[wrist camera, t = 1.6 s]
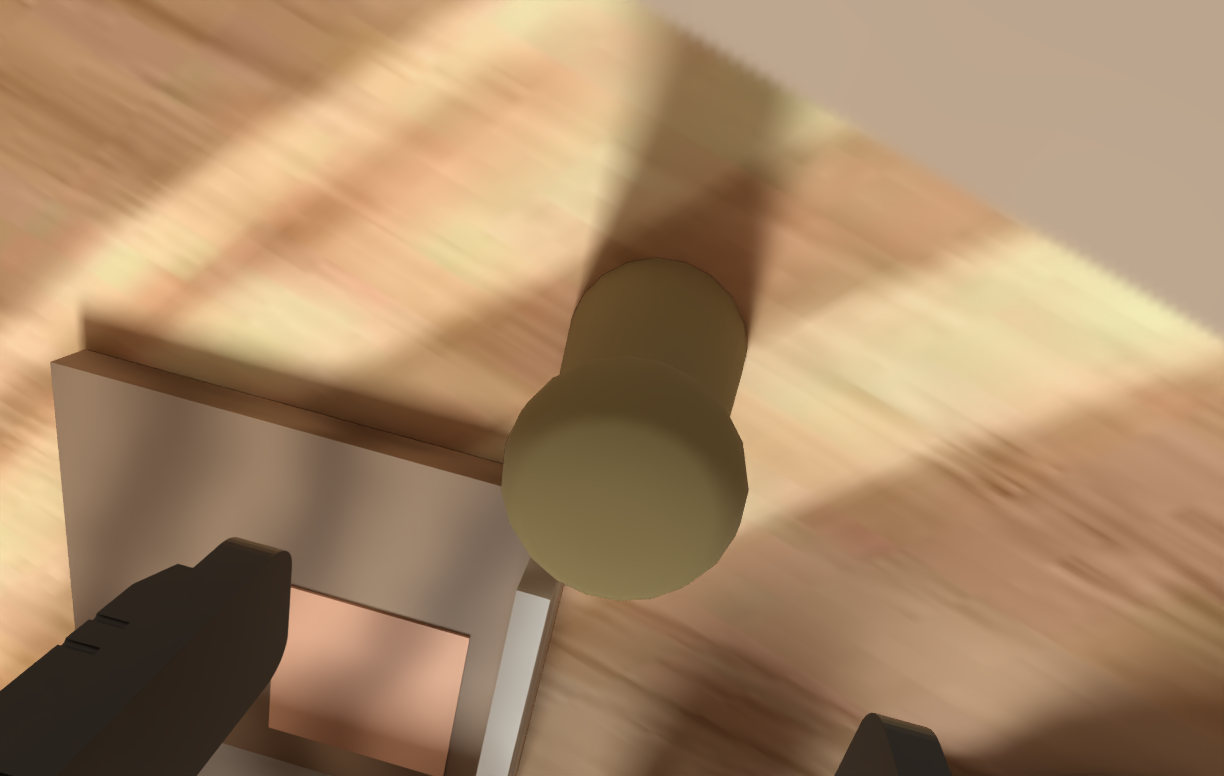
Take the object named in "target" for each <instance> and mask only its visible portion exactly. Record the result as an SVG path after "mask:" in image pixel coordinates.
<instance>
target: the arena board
mask: <svg viewBox="0 0 1224 776" xmlns="http://www.w3.org/2000/svg"><path fill="white" fill-rule="evenodd" d="M50 364H51V374H52V385H53V396H54V406H55V417H56V428H57V439H58V449H59V460H60V471H61V481H62V492H63V503H64V514H65V524H66V535H67V546H68V556H69V567H70V578H71V589H72V599H73V610H74V621H75V630H76V629H78V628H79V627H80V626H81V625H83V624H84V623H85V622H86V621H87V620H89V619H90V620H93V619H94V618H95V617H96V613H97V612H99V611H100V610H101V609H102V608H104V607H105V606H106V605H107V604H108V603H110V602H111V601H112V600H113V599H115V598H116V597H117V596H118V595H120V594H121V593H122V592H123V591H125V590H126V589H127V588H128V587H130V586H131V585H132V584H134V583H136V582H138V581H140V580H143V579H145V578H147V577H149V576H151V575H154V574H156V573H158V572H160V571H163V570H165V569H167V568H169V567H171V566H174V565H176V564H181V565H184V566H188V567H192V568H193V567H194V566H196V565H197V564H198V563H199V562H200V561H201V560H202V559H204V558H205V557H206V556H207V555H208V554H209V553H210V552H212V551H213V550H214V549H215V548H216V547H217V546H219V545H220V544H221V543H222V542H223V541H225V540H227V539H228V538H231V537H238V538H242V539H245V540H249V541H253V542H256V543H260V544H264V545H267V546H271V547H275V548H278V549H282V550H286V551H288V552H289V553H290V555H291V558H292V576H291V593H290V610H289V627H288V639H287V644H286V647H285V651H284V654H283V657H282V659H281V662H280V664H279V666H278V668H277V670H276V672H275V674H274V676H273V677H272V679H271V680H270V682H269V683H268V685H267V686H266V687H265V689H264V690H263V691H262V693H261V694H260V695H259V696H258V698H257V699H256V700H255V702H254V703H253V704H252V705H251V707H250V708H249V709H248V711H247V712H246V713H245V714H244V716H243V717H242V718H241V720H240V721H239V722H238V723H237V725H236V726H235V727H234V729H233V730H232V731H231V733H230V734H229V735H228V736H227V738H226V739H225V740H224V742H223V743H222V744H221V745H220V747H219V748H218V749H217V751H216V752H215V753H214V754H213V756H212V757H211V758H210V760H209V761H208V762H207V763H206V765H205V766H204V767H203V769H202V770H201V771H200V772H199V774H198V775H197V776H516V774H517V770H518V766H519V762H520V758H521V754H522V750H523V746H524V742H525V738H526V734H527V730H528V726H529V722H530V718H531V714H532V710H533V706H534V702H535V698H536V694H537V691H538V687H539V683H540V679H541V675H542V671H543V667H544V663H545V659H546V655H547V651H548V647H549V643H550V639H551V635H552V631H553V627H554V623H555V619H556V615H557V611H558V607H559V603H560V599H561V595H562V591H563V587H564V583H562V582H560V581H558V580H556V579H555V578H553V577H552V576H551V575H550V574H549V573H548V572H547V571H545V570H544V569H543V568H542V567H541V566H540V565H539V564H538V563H536V562H535V561H534V560H533V559H532V558H531V556H530V555H529V553H528V552H527V550H526V548H525V547H524V545H523V544H522V542H521V541H520V539H519V537H518V536H517V534H516V533H515V531H514V529H513V528H512V526H511V525H510V523H509V520H508V516H507V512H506V508H505V504H504V500H503V496H502V493H501V485H502V474H503V464H501V463H497V462H494V461H490V460H486V459H483V458H479V457H476V456H472V455H468V454H465V453H461V452H457V451H454V450H450V449H446V448H443V447H439V446H435V445H432V444H428V443H424V442H421V441H417V440H414V439H410V438H406V437H403V436H399V435H395V434H392V433H388V432H384V431H381V430H377V429H373V428H370V427H366V426H363V425H359V424H355V423H352V422H348V421H344V420H341V419H337V418H333V417H330V416H326V415H322V414H319V413H315V412H311V411H308V410H304V409H301V408H297V407H293V406H290V405H286V404H282V403H279V402H275V401H271V400H268V399H264V398H260V397H257V396H253V395H250V394H246V393H242V392H239V391H235V390H231V389H228V388H224V387H220V386H217V385H213V384H209V383H206V382H202V381H199V380H195V379H191V378H188V377H184V376H180V375H177V374H173V373H169V372H166V371H162V370H158V369H155V368H151V367H147V366H144V365H140V364H137V363H133V362H129V361H126V360H122V359H118V358H115V357H111V356H107V355H104V354H100V353H96V352H93V351H89V350H86V349H85V350H82V351H79V352H77V353H74V354H71V355H68V356H66V357H63V358H60V359H57V360H55V361H52V362H50Z"/></svg>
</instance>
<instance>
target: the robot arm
mask: <svg viewBox="0 0 1224 776" xmlns="http://www.w3.org/2000/svg"><path fill="white" fill-rule="evenodd" d="M291 576H292V558H291V555H290V553H289V552H288V551H286V550H282V549H278V548H275V547H271V546H267V545H264V544H260V543H256V542H253V541H249V540H245V539H242V538H238V537H231V538H228V539H227V540H225V541H223V542H222V543H221V544H220V545H219V546H217V547H216V548H215V549H214V550H213V551H212V552H210V553H209V554H208V555H207V556H206V557H205V558H204V559H202V560H201V561H200V562H199V563H198V564H197V565H196V566H194V567H193V568H192V567H188V566H184V565H181V564H176V565H174V566H171V567H169V568H167V569H165V570H163V571H160V572H158V573H156V574H154V575H151V576H149V577H147V578H145V579H143V580H140V581H138V582H136V583H134V584H132V585H131V586H130V587H128V588H127V589H126V590H125V591H123V592H122V593H121V594H120V595H118V596H117V597H116V598H115V599H113V600H112V601H111V602H110V603H108V604H107V605H106V606H105V607H104V608H102V609H101V610H100V611H99V612H97V613H96V617H95V618H94V619H93V620H90V619H89V620H87V621H86V622H85V623H84V624H83V625H81V626H80V627H79V628H78V629H76V630H75V631H74V632H73V633H71V634H70V635H69V636H68V637H66V639H65V642H64V643H63V644H62V645H61V646H60V645H57V646H55V647H54V648H53V649H52V650H50V651H49V652H48V653H47V654H45V655H44V656H43V657H42V658H40V659H39V660H38V661H37V662H35V663H34V664H33V665H32V666H31V667H29V668H28V669H27V670H26V671H24V672H23V673H22V674H21V675H19V676H18V677H17V678H16V679H14V680H13V681H12V682H11V683H10V684H8V685H7V686H6V687H5V688H3V689H2V690H1V691H0V776H197V775H198V774H199V772H200V771H201V770H202V769H203V767H204V766H205V765H206V763H207V762H208V761H209V760H210V758H211V757H212V756H213V754H214V753H215V752H216V751H217V749H218V748H219V747H220V745H221V744H222V743H223V742H224V740H225V739H226V738H227V736H228V735H229V734H230V733H231V731H232V730H233V729H234V727H235V726H236V725H237V723H238V722H239V721H240V720H241V718H242V717H243V716H244V714H245V713H246V712H247V711H248V709H249V708H250V707H251V705H252V704H253V703H254V702H255V700H256V699H257V698H258V696H259V695H260V694H261V693H262V691H263V690H264V689H265V687H266V686H267V685H268V683H269V682H270V680H271V679H272V677H273V676H274V674H275V672H276V670H277V668H278V666H279V664H280V662H281V659H282V657H283V654H284V651H285V647H286V644H287V639H288V627H289V610H290V593H291ZM835 776H952V775H951V772H950V769H949V767H948V764H947V762H946V759H945V756H944V754H943V751H942V749H941V746H940V743H939V741H938V739H937V737H936V735H935V734H934V732H933V731H932V730H931V729H929V728H927V727H923V726H920V725H916V724H912V723H909V722H905V721H901V720H898V719H894V718H890V717H887V716H883V715H879V714H876V713H870V714H868V715H866V716H865V718H864V719H863V720H862V722H861V724H860V726H859V728H858V730H857V732H856V734H855V736H854V738H853V740H852V742H851V744H850V746H849V748H848V750H847V752H846V754H845V756H844V758H843V760H842V762H841V764H840V766H839V768H838V770H837V772H836V774H835Z"/></svg>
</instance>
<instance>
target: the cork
mask: <svg viewBox="0 0 1224 776" xmlns="http://www.w3.org/2000/svg"><path fill="white" fill-rule="evenodd" d="M746 352H747V344H746V335H745V326H744V321H743V319H742V317H741V315H740V313H739V311H738V308H737V306H736V304H735V302H734V300H733V298H732V296H731V295H730V294H729V293H728V292H727V291H726V290H725V289H724V288H723V287H722V286H721V285H720V284H719V283H718V282H717V281H716V280H715V279H714V278H713V277H712V276H711V275H709V274H707V273H705V272H703V271H701V270H699V269H697V268H695V267H693V266H691V265H689V264H688V263H685V262H679V261H673V260H667V259H661V258H652V259H646V260H639V261H632V262H627V263H625V264H623V265H621V266H619V267H617V268H615V269H614V270H612V271H610V272H608V273H606V274H604V275H602V276H601V277H600V278H599V279H598V280H597V281H596V282H595V283H594V284H593V285H592V286H591V287H590V288H589V289H588V290H587V291H586V292H585V293H584V294H583V296H582V298H581V301H580V303H579V305H578V307H577V309H576V311H575V313H574V315H573V317H572V320H571V324H570V329H569V333H568V338H567V342H566V347H565V352H564V356H563V361H562V365H561V370H560V374H559V375H558V376H556V377H554V378H552V379H551V380H550V381H549V382H548V383H547V384H546V385H545V386H544V387H543V388H542V389H541V390H540V391H539V392H538V393H537V394H536V395H535V396H534V397H533V398H532V399H531V400H530V401H529V402H528V403H527V404H526V405H525V407H524V408H523V410H522V411H521V413H520V414H519V416H518V419H517V421H516V423H515V425H514V427H513V429H512V431H511V433H510V435H509V437H508V439H507V442H506V444H505V452H504V463H503V474H502V485H501V493H502V496H503V500H504V504H505V508H506V512H507V516H508V520H509V523H510V525H511V526H512V528H513V529H514V531H515V533H516V534H517V536H518V537H519V539H520V541H521V542H522V544H523V545H524V547H525V548H526V550H527V552H528V553H529V555H530V556H531V558H532V559H533V560H534V561H535V562H536V563H538V564H539V565H540V566H541V567H542V568H543V569H544V570H545V571H547V572H548V573H549V574H550V575H551V576H552V577H553V578H555V579H556V580H558V581H560V582H562V583H564V584H566V585H568V586H570V587H572V588H574V589H576V590H578V591H580V592H582V593H584V594H587V595H591V596H596V597H601V598H606V599H611V600H616V601H624V600H642V599H652V598H655V597H658V596H660V595H663V594H666V593H669V592H672V591H675V590H678V589H681V588H682V587H684V586H686V585H688V584H690V583H691V582H692V581H694V580H695V579H696V578H698V577H699V576H700V575H702V574H703V573H705V572H706V571H707V570H709V569H710V568H711V567H713V566H714V565H715V564H716V563H717V562H718V560H719V559H720V558H721V556H722V555H723V553H724V552H725V550H726V549H727V547H728V546H729V544H730V543H731V541H732V540H733V539H734V537H735V535H736V533H737V530H738V528H739V526H740V523H741V519H742V515H743V510H744V506H745V502H746V498H747V494H748V482H747V474H746V465H745V457H744V449H743V442H742V440H741V438H740V436H739V434H738V432H737V430H736V428H735V426H734V424H733V422H732V420H731V418H730V414H731V411H732V407H733V404H734V400H735V396H736V393H737V389H738V386H739V382H740V378H741V374H742V370H743V366H744V361H745V357H746Z"/></svg>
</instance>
